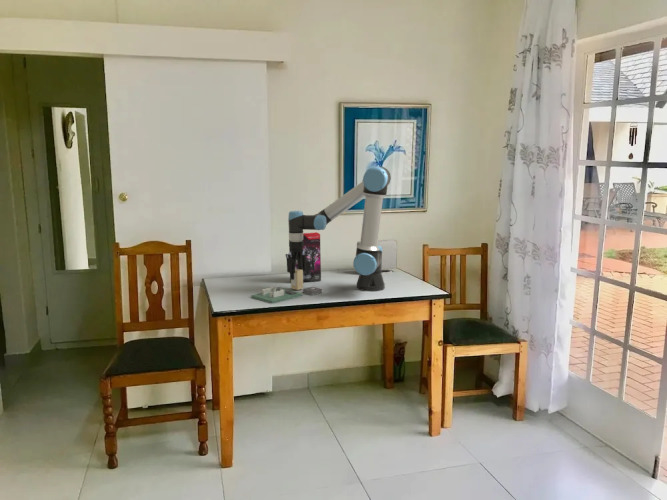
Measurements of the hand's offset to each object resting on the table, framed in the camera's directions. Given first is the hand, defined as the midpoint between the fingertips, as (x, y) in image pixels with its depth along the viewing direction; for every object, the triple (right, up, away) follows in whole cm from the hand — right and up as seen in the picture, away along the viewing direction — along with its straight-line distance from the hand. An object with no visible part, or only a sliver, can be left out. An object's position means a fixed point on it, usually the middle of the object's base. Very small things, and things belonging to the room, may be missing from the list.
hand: (297, 284), depth 282 cm
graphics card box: (+3, 0, +20) cm, 20 cm away
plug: (0, -2, 0) cm, 2 cm away
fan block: (+8, -4, -6) cm, 11 cm away
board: (-9, -5, -14) cm, 18 cm away
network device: (+45, +4, +43) cm, 63 cm away
